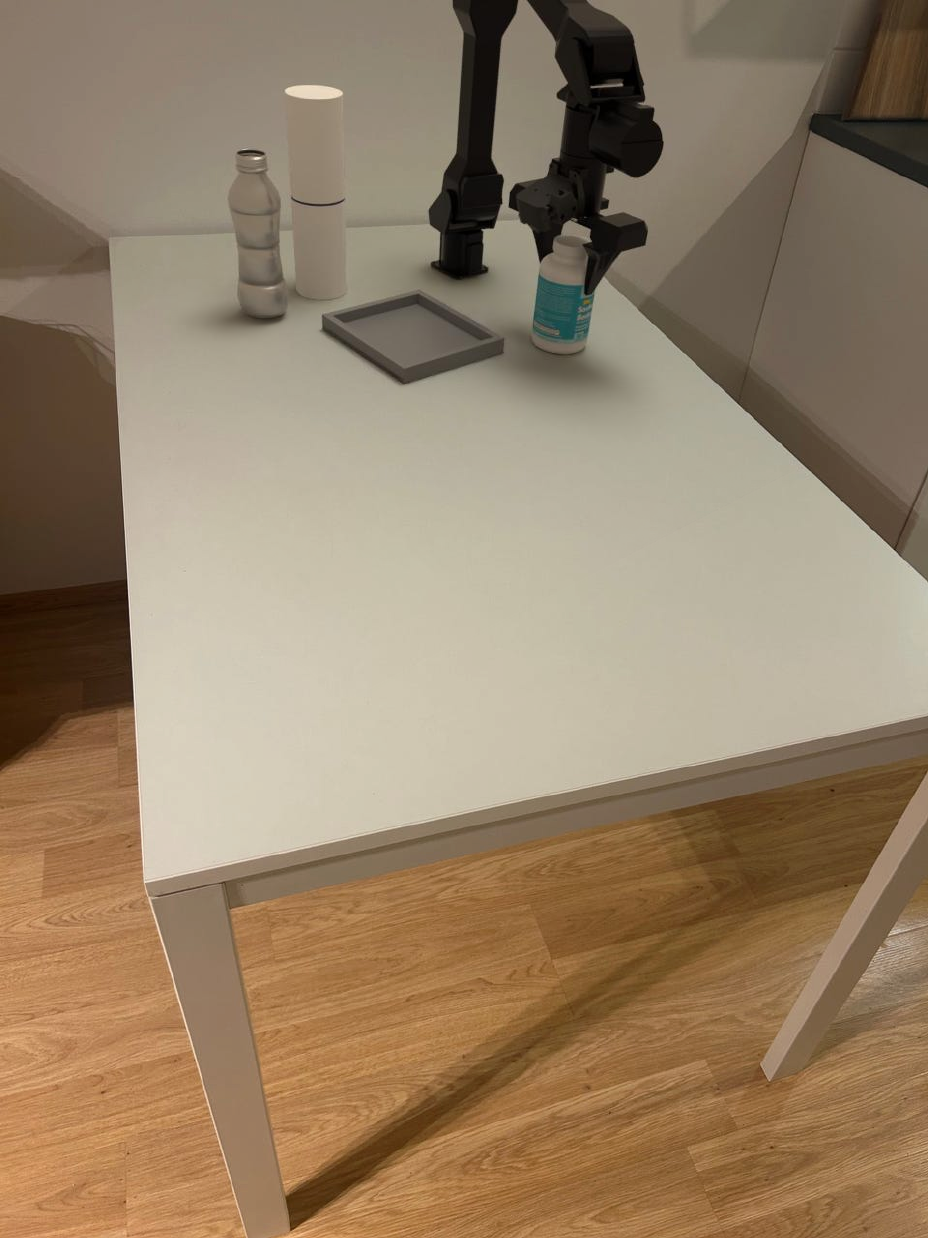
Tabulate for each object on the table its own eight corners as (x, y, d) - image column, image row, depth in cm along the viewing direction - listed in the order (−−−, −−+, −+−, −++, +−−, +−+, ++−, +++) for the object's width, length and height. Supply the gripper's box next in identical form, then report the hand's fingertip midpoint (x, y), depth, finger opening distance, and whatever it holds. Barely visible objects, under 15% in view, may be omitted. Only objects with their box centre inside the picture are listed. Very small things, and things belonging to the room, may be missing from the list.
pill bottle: (582, 360, 120) (599, 255, 112) (526, 351, 121) (538, 246, 112) (589, 336, 126) (605, 234, 117) (535, 328, 127) (547, 226, 118)
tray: (322, 329, 123) (321, 314, 121) (419, 303, 131) (419, 289, 129) (404, 383, 113) (404, 368, 111) (503, 352, 121) (504, 337, 119)
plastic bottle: (267, 328, 122) (254, 164, 108) (228, 314, 124) (211, 152, 111) (299, 313, 126) (290, 153, 113) (261, 299, 128) (248, 141, 115)
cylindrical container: (306, 302, 129) (296, 100, 112) (289, 283, 133) (276, 86, 117) (354, 295, 131) (351, 97, 115) (336, 277, 136) (330, 83, 119)
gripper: (480, 139, 109) (471, 271, 119) (593, 184, 99) (572, 325, 109) (549, 128, 115) (534, 255, 125) (662, 169, 104) (636, 305, 115)
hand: (566, 283), depth 118 cm, fingers closed on pill bottle, 7 cm apart
